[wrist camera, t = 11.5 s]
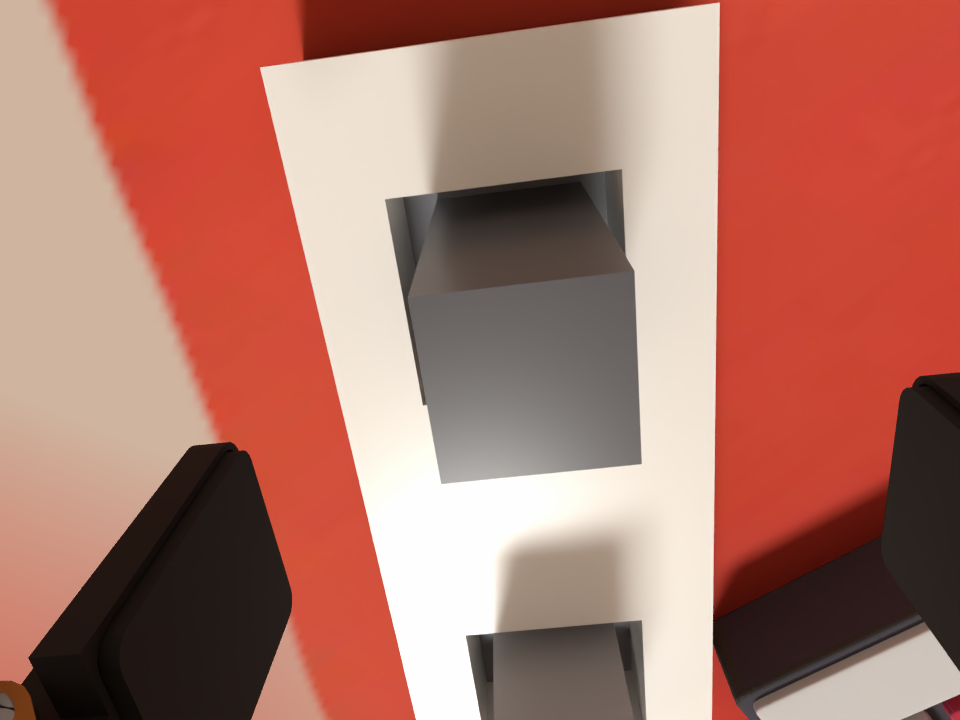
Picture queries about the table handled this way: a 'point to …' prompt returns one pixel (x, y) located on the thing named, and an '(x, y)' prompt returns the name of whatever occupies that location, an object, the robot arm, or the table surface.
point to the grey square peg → (560, 674)
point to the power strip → (394, 359)
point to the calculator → (837, 649)
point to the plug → (526, 336)
